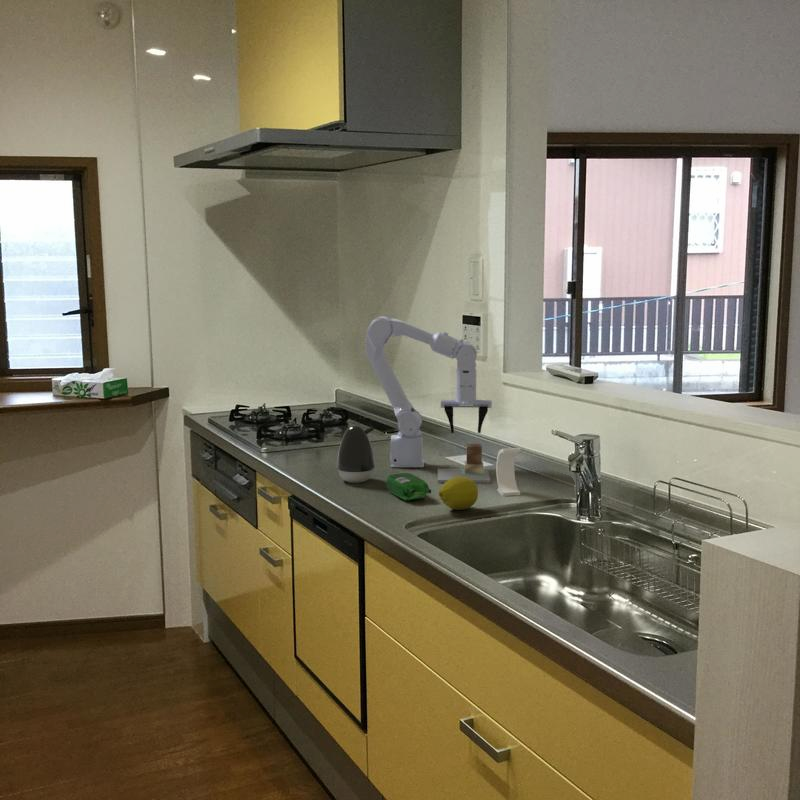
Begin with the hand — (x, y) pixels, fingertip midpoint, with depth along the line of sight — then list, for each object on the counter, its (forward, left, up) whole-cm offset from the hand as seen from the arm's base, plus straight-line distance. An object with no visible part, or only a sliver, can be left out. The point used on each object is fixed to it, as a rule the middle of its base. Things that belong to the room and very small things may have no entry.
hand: (465, 432), depth 272 cm
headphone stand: (+10, -31, -10) cm, 34 cm away
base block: (+2, -11, -9) cm, 14 cm away
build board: (-1, -14, -10) cm, 17 cm away
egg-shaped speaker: (-30, -19, -10) cm, 37 cm away
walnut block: (+2, -11, -6) cm, 13 cm away
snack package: (-16, -36, -10) cm, 40 cm away
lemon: (-3, -48, -10) cm, 49 cm away
